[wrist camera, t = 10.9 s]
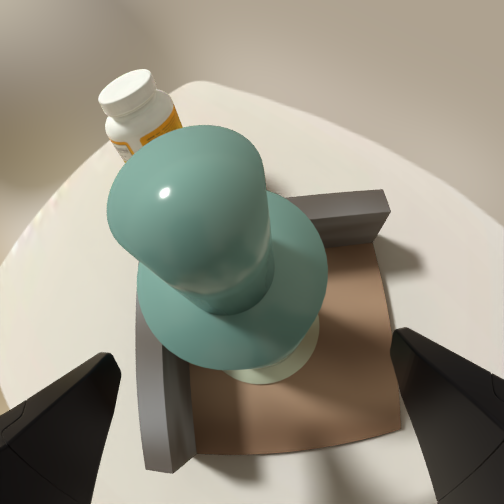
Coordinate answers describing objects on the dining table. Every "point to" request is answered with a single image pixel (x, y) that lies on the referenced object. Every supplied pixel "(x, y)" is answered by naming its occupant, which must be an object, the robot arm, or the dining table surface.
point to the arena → (286, 363)
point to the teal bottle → (217, 250)
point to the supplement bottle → (136, 112)
